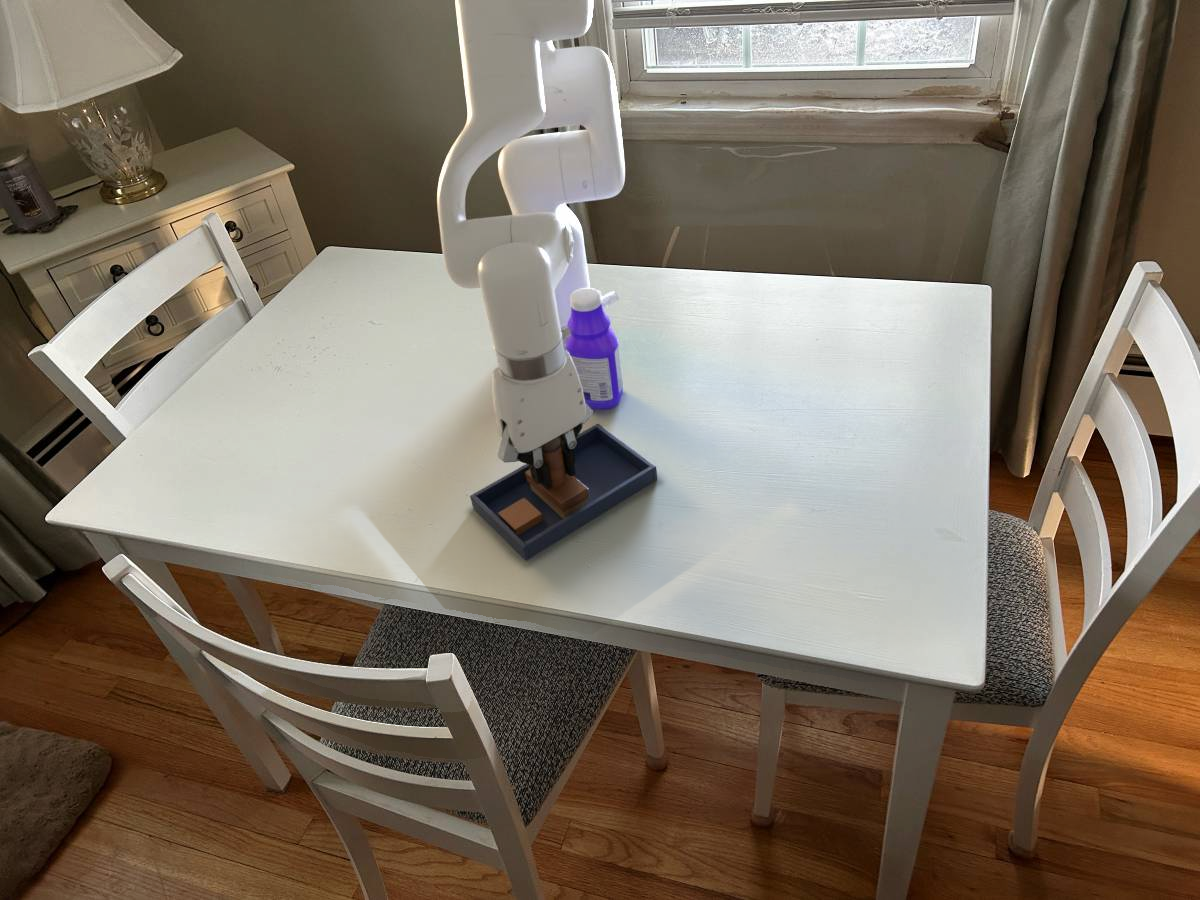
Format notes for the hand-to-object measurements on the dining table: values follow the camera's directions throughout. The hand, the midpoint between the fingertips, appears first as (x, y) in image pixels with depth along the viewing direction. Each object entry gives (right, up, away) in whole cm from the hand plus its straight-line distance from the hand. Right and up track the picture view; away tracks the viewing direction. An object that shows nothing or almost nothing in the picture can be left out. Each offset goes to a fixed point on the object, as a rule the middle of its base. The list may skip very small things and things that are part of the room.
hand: (554, 476), depth 112 cm
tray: (+1, -3, +3) cm, 4 cm away
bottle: (+5, +10, +18) cm, 21 cm away
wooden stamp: (0, -3, +2) cm, 4 cm away
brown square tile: (-4, -5, 0) cm, 7 cm away
